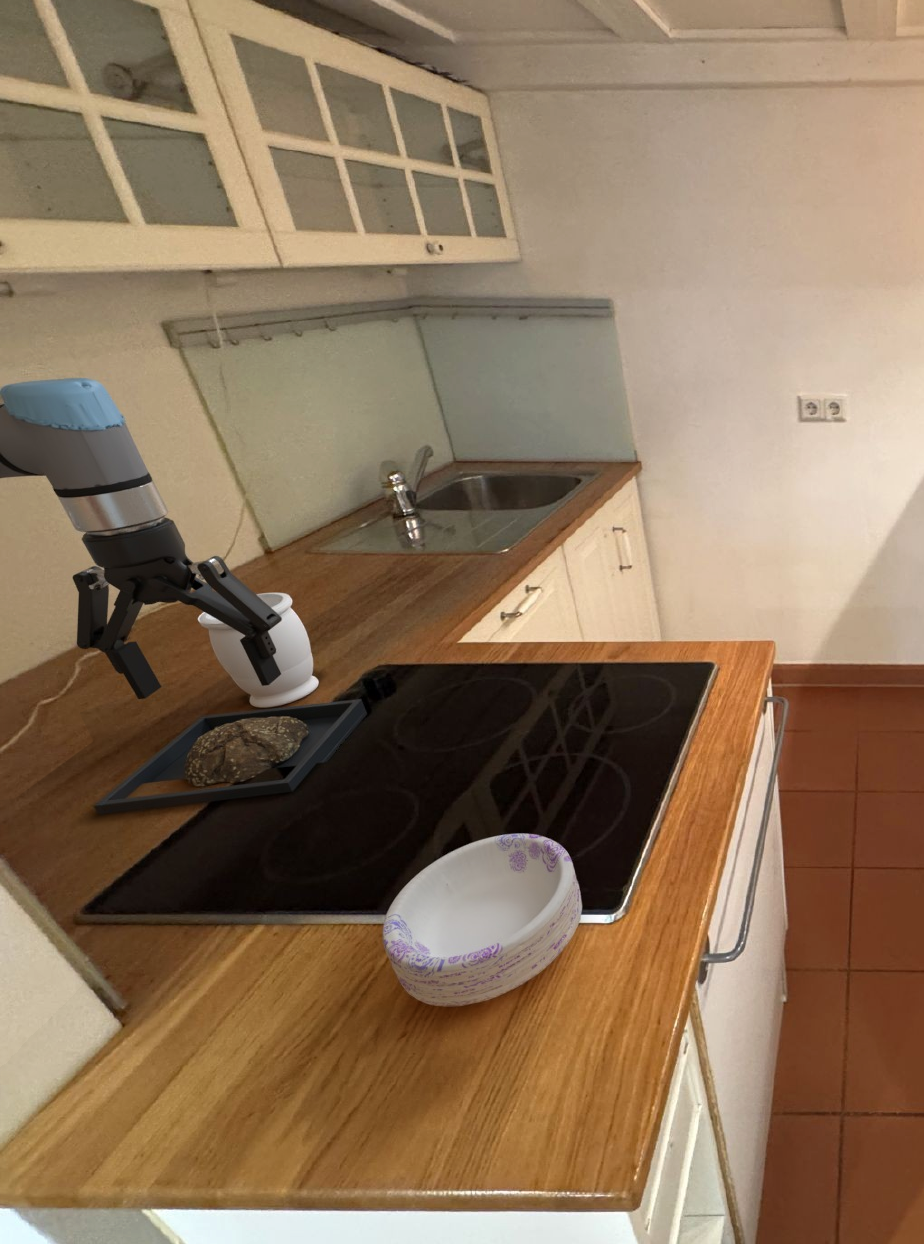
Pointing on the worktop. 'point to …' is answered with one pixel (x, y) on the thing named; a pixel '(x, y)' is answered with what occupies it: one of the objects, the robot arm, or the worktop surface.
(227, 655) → the jar
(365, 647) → the worktop surface
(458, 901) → the paper bowls
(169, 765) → the bread tray
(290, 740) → the bread roll
